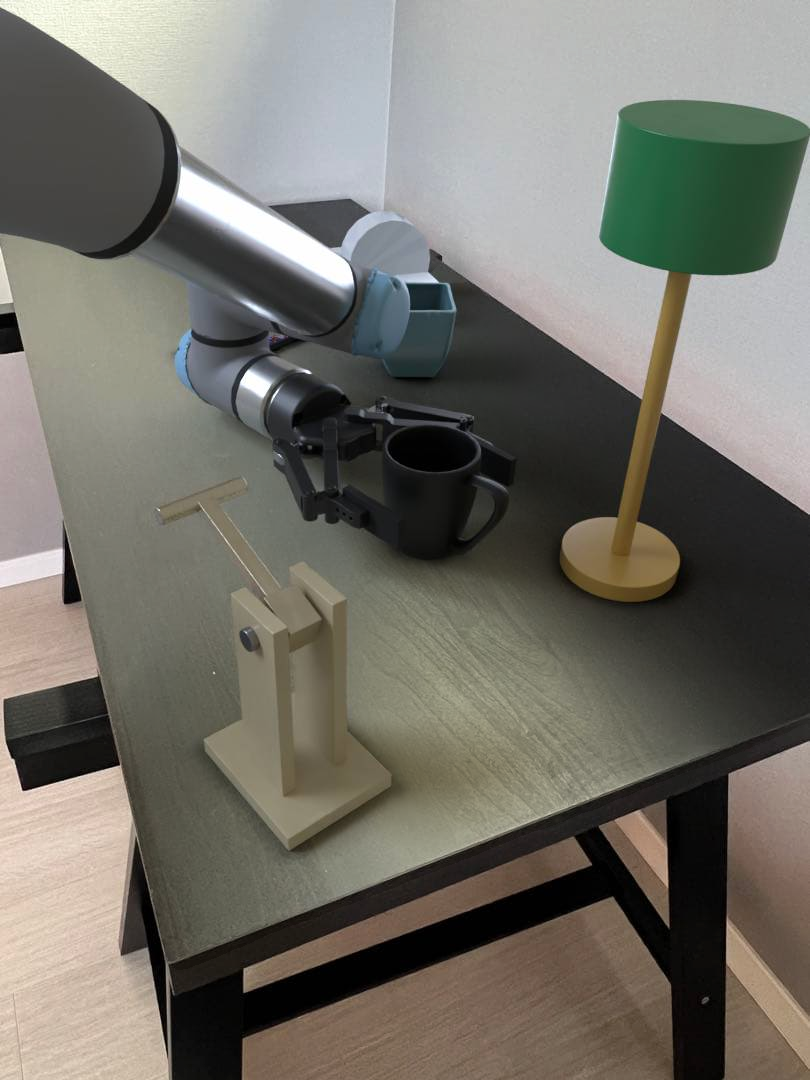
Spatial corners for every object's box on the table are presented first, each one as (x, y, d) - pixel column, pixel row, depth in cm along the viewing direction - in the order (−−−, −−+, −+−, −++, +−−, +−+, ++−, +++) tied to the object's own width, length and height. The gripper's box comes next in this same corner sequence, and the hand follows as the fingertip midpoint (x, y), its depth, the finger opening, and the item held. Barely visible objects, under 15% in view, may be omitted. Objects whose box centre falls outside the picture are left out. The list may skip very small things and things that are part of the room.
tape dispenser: (450, 323, 122) (456, 237, 115) (369, 333, 119) (370, 245, 112) (397, 269, 137) (399, 190, 130) (323, 276, 133) (322, 195, 127)
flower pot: (372, 352, 114) (373, 280, 109) (444, 353, 115) (449, 281, 110) (374, 385, 107) (376, 310, 102) (451, 386, 108) (457, 311, 102)
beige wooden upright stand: (204, 751, 63) (182, 578, 55) (303, 698, 68) (296, 530, 59) (288, 851, 57) (278, 675, 49) (391, 786, 62) (398, 613, 53)
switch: (152, 521, 58) (153, 496, 56) (236, 489, 61) (240, 465, 59) (255, 670, 54) (261, 648, 52) (341, 628, 57) (349, 605, 55)
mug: (460, 603, 77) (469, 507, 71) (360, 538, 83) (361, 445, 78) (524, 562, 81) (538, 468, 76) (425, 503, 88) (431, 413, 83)
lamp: (526, 580, 80) (592, 124, 58) (575, 511, 88) (648, 92, 67) (666, 628, 75) (792, 154, 54) (703, 550, 84) (825, 116, 63)
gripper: (388, 403, 99) (547, 485, 88) (188, 490, 85) (347, 602, 73) (390, 336, 95) (558, 413, 83) (180, 416, 80) (347, 523, 69)
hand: (460, 502), depth 78 cm, fingers open, 13 cm apart
